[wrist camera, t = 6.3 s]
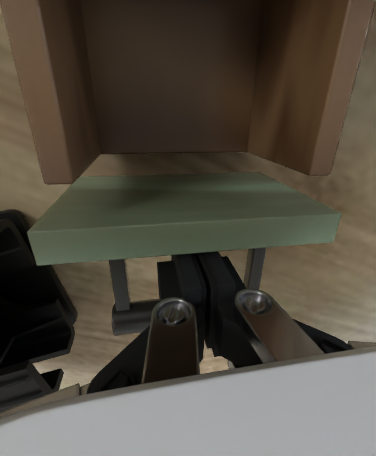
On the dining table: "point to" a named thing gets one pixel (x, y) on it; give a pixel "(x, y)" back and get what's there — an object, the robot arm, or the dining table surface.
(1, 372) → the end cap
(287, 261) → the dining table surface
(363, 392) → the robot arm
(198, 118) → the drawer
